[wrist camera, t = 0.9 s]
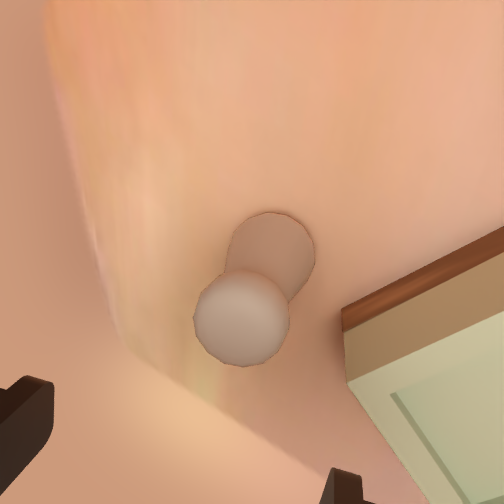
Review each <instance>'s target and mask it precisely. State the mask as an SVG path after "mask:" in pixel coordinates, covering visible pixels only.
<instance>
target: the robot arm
mask: <svg viewBox="0 0 504 504" xmlns="http://www.w3.org/2000/svg"><path fill="white" fill-rule="evenodd" d="M53 423H54V385H53V383H52V382H49V381H45V380H42V379H38V378H35V377H32V376H28V375H27V376H23V377H22V378H20V379H19V380H18V381H17V382H15V383H14V384H13V385H12V386H11V387H9V388H8V389H7V390H5V389H2V388H0V495H1V494H2V493H3V492H4V491H5V490H6V489H7V487H8V486H9V485H10V484H11V483H12V482H13V481H14V480H15V478H16V477H17V476H18V475H19V474H20V473H21V472H22V471H23V470H24V468H25V467H26V466H27V465H28V464H29V463H30V462H31V461H32V459H33V458H34V457H35V456H36V455H37V454H38V452H39V451H40V450H41V449H42V448H43V447H44V445H45V444H46V442H47V441H48V439H49V437H50V435H51V432H52V429H53ZM319 504H375V503H371V502H368V501H365V500H363V488H362V479H361V476H360V475H356V474H353V473H350V472H346V471H343V470H340V469H336V468H333V467H332V468H331V470H330V473H329V476H328V479H327V482H326V485H325V488H324V491H323V494H322V497H321V500H320V503H319Z"/></svg>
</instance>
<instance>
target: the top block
mask: <svg viewBox="0 0 504 504" xmlns="http://www.w3.org/2000/svg"><path fill="white" fill-rule="evenodd" d="M344 351H345V372H346V384H347V385H348V387H349V388H350V390H351V391H352V393H353V394H354V395H355V397H356V398H357V400H358V401H359V403H360V404H361V405H362V407H363V408H364V410H365V411H366V413H367V414H368V415H369V417H370V418H371V420H372V421H373V423H374V424H375V426H376V427H377V428H378V430H379V431H380V433H381V434H382V436H383V437H384V438H385V440H386V441H387V443H388V444H389V446H390V447H391V448H392V450H393V451H394V453H395V454H396V456H397V457H398V459H399V460H400V461H401V463H402V464H403V466H404V467H405V469H406V470H407V471H408V473H409V474H410V476H411V477H412V479H413V480H414V481H415V483H416V484H417V486H418V487H419V489H420V490H421V491H422V493H423V494H424V496H425V497H426V499H427V500H428V502H429V503H430V504H504V252H503V253H501V254H499V255H497V256H495V257H493V258H491V259H489V260H487V261H485V262H483V263H481V264H479V265H477V266H475V267H473V268H471V269H470V270H468V271H466V272H464V273H462V274H460V275H458V276H456V277H454V278H452V279H450V280H448V281H446V282H444V283H442V284H440V285H438V286H436V287H434V288H432V289H430V290H428V291H426V292H424V293H422V294H420V295H418V296H416V297H414V298H412V299H410V300H408V301H406V302H404V303H402V304H400V305H398V306H396V307H394V308H392V309H390V310H388V311H386V312H384V313H382V314H380V315H378V316H376V317H374V318H372V319H370V320H368V321H366V322H364V323H362V324H360V325H358V326H356V327H354V328H352V329H350V330H348V331H346V332H344Z"/></svg>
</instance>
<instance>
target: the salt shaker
mask: <svg viewBox="0 0 504 504" xmlns="http://www.w3.org/2000/svg"><path fill="white" fill-rule="evenodd" d="M314 265H315V258H314V245H313V242H312V240H311V238H310V237H309V235H308V233H307V232H306V230H305V228H304V227H303V226H302V225H301V224H299V223H298V222H296V221H295V220H293V219H292V218H290V217H289V216H287V215H282V214H276V213H269V212H267V213H264V214H261V215H258V216H254V217H251V218H248V219H247V220H246V221H245V222H244V223H243V224H242V225H241V226H239V227H238V228H237V229H236V230H235V231H234V233H233V236H232V239H231V242H230V245H229V248H228V254H227V259H226V265H225V271H224V274H222V275H219V276H218V277H217V278H216V279H215V280H214V281H213V282H212V283H211V284H209V285H208V286H207V287H206V288H205V289H204V290H203V291H202V292H201V294H200V297H199V300H198V303H197V307H196V310H195V313H194V316H193V320H194V327H195V333H196V337H197V338H198V340H199V341H200V342H201V344H202V345H203V347H204V348H205V350H206V351H207V352H208V353H209V354H211V355H212V356H214V357H215V358H217V359H218V360H220V361H221V362H223V363H224V364H229V365H234V366H239V367H248V366H253V365H258V364H263V363H264V362H265V361H267V360H268V359H269V358H271V357H272V356H273V355H274V354H276V353H277V352H278V350H279V349H280V347H281V345H282V343H283V341H284V339H285V337H286V334H287V332H288V330H289V325H290V318H289V309H288V303H289V302H290V301H291V299H292V298H293V297H294V296H295V295H296V294H297V292H298V291H299V290H300V289H301V288H302V286H303V285H304V284H305V283H306V282H307V281H308V278H309V276H310V274H311V272H312V269H313V267H314Z"/></svg>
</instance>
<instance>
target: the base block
mask: <svg viewBox="0 0 504 504" xmlns="http://www.w3.org/2000/svg"><path fill="white" fill-rule="evenodd" d="M503 252H504V226H503V227H501V228H499V229H497V230H495V231H493V232H491V233H489V234H487V235H485V236H483V237H481V238H480V239H478V240H476V241H474V242H472V243H470V244H468V245H466V246H464V247H462V248H460V249H458V250H456V251H454V252H452V253H450V254H448V255H446V256H444V257H442V258H440V259H438V260H436V261H434V262H432V263H430V264H428V265H426V266H424V267H423V268H421V269H419V270H417V271H415V272H413V273H411V274H409V275H407V276H405V277H403V278H401V279H399V280H397V281H395V282H393V283H391V284H389V285H387V286H385V287H383V288H381V289H379V290H377V291H375V292H373V293H371V294H369V295H367V296H365V297H364V298H362V299H360V300H358V301H356V302H354V303H352V304H350V305H348V306H346V307H344V308H342V332H343V333H344V332H346V331H348V330H350V329H352V328H354V327H356V326H358V325H360V324H362V323H364V322H366V321H368V320H370V319H372V318H374V317H376V316H378V315H380V314H382V313H384V312H386V311H388V310H390V309H392V308H394V307H396V306H398V305H400V304H402V303H404V302H406V301H408V300H410V299H412V298H414V297H416V296H418V295H420V294H422V293H424V292H426V291H428V290H430V289H432V288H434V287H436V286H438V285H440V284H442V283H444V282H446V281H448V280H450V279H452V278H454V277H456V276H458V275H460V274H462V273H464V272H466V271H468V270H470V269H471V268H473V267H475V266H477V265H479V264H481V263H483V262H485V261H487V260H489V259H491V258H493V257H495V256H497V255H499V254H501V253H503Z"/></svg>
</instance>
